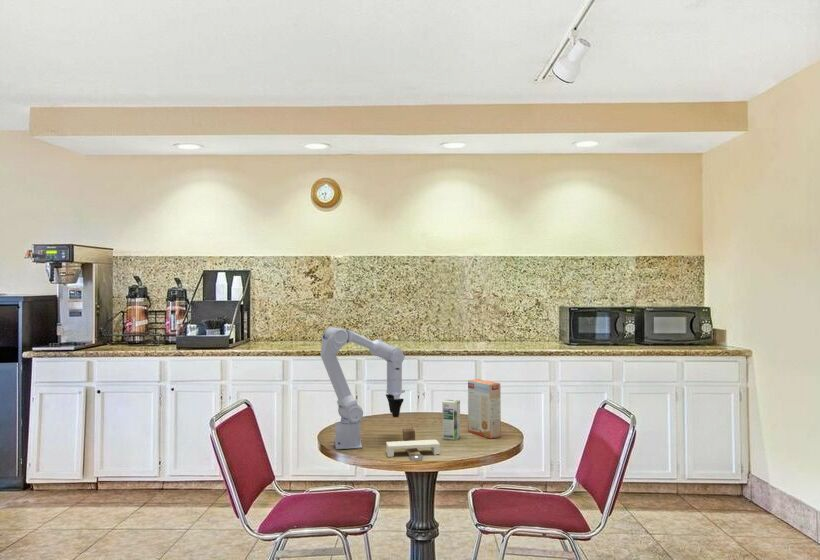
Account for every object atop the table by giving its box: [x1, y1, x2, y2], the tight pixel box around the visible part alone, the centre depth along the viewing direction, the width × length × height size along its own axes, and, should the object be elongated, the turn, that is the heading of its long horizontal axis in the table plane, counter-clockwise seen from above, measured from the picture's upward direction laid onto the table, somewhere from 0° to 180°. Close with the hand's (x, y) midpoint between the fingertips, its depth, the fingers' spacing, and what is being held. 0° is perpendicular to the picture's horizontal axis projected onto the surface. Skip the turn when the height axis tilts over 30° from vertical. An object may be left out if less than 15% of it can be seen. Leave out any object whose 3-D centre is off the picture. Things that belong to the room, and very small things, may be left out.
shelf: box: [385, 439, 441, 458], centre depth 193 cm, size 18×6×4 cm, turn 99°
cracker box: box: [467, 378, 502, 439], centre depth 219 cm, size 14×6×21 cm, turn 31°
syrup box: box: [441, 398, 461, 441], centre depth 214 cm, size 6×6×14 cm
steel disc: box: [409, 453, 424, 461], centre depth 187 cm, size 4×4×1 cm
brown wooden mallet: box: [402, 427, 421, 457], centre depth 197 cm, size 4×16×6 cm, turn 9°
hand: (394, 414), depth 212 cm, fingers open, 7 cm apart
